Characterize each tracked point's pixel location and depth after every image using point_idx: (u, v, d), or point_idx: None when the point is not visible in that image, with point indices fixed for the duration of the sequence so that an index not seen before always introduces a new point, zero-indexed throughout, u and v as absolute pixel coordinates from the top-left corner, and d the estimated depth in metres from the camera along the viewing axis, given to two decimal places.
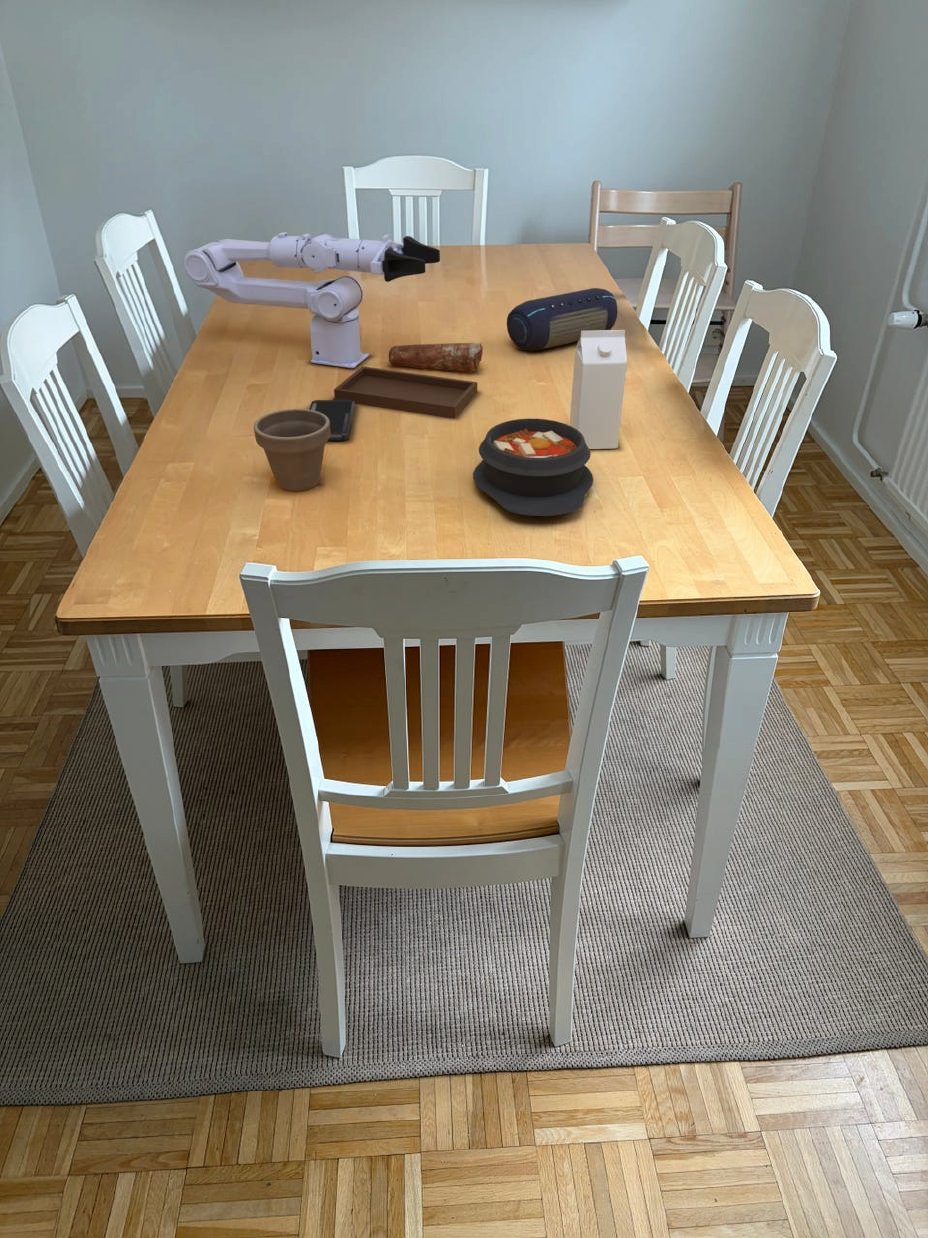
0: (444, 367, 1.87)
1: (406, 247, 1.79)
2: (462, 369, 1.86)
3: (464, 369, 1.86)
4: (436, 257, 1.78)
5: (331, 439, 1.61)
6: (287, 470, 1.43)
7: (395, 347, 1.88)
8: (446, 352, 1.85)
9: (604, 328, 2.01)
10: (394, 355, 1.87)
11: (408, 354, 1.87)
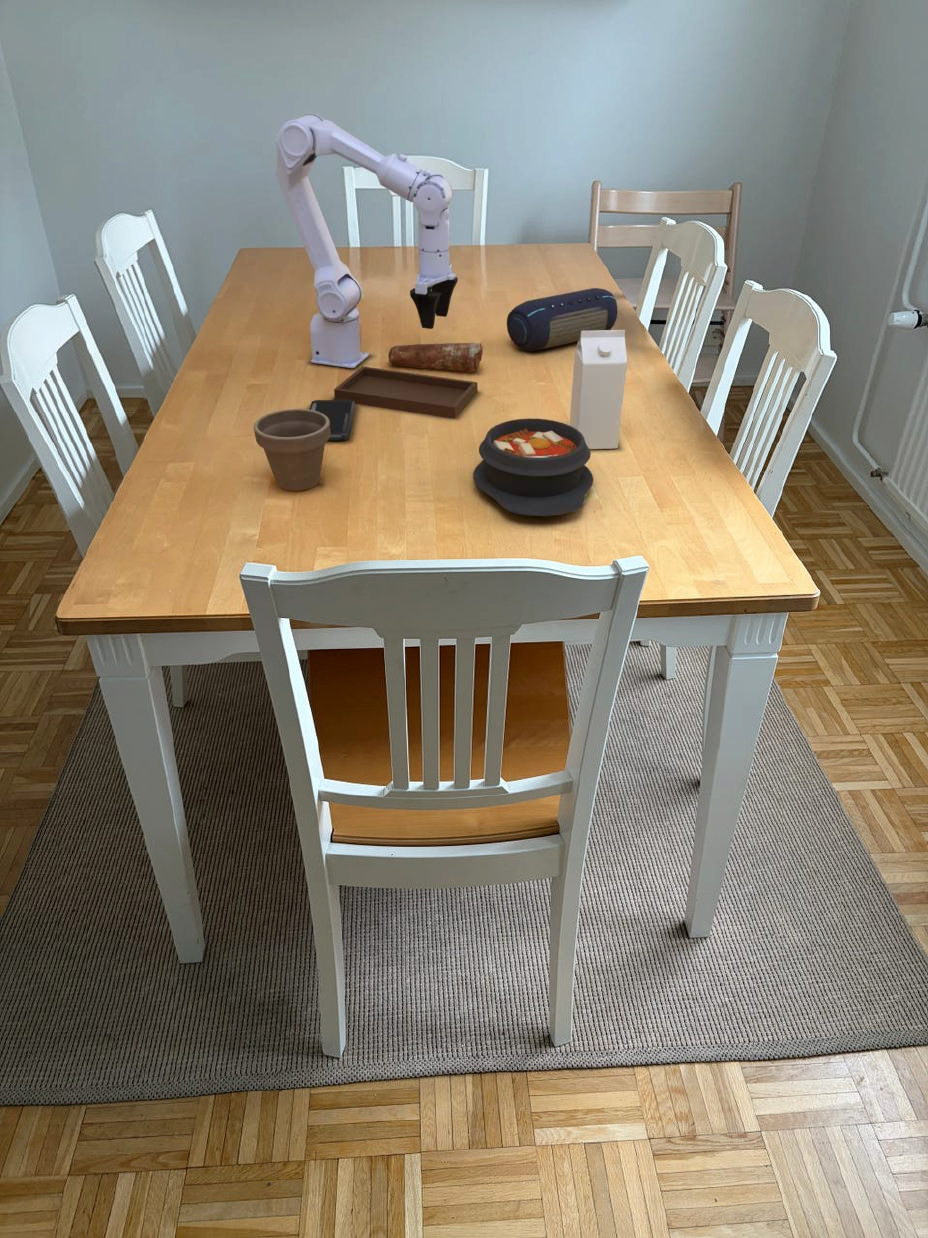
0: (444, 367, 1.87)
1: (446, 282, 1.82)
2: (462, 369, 1.86)
3: (464, 369, 1.86)
4: (439, 313, 1.86)
5: (331, 439, 1.61)
6: (287, 470, 1.43)
7: (395, 347, 1.88)
8: (446, 352, 1.85)
9: (604, 328, 2.01)
10: (394, 355, 1.87)
11: (408, 354, 1.87)
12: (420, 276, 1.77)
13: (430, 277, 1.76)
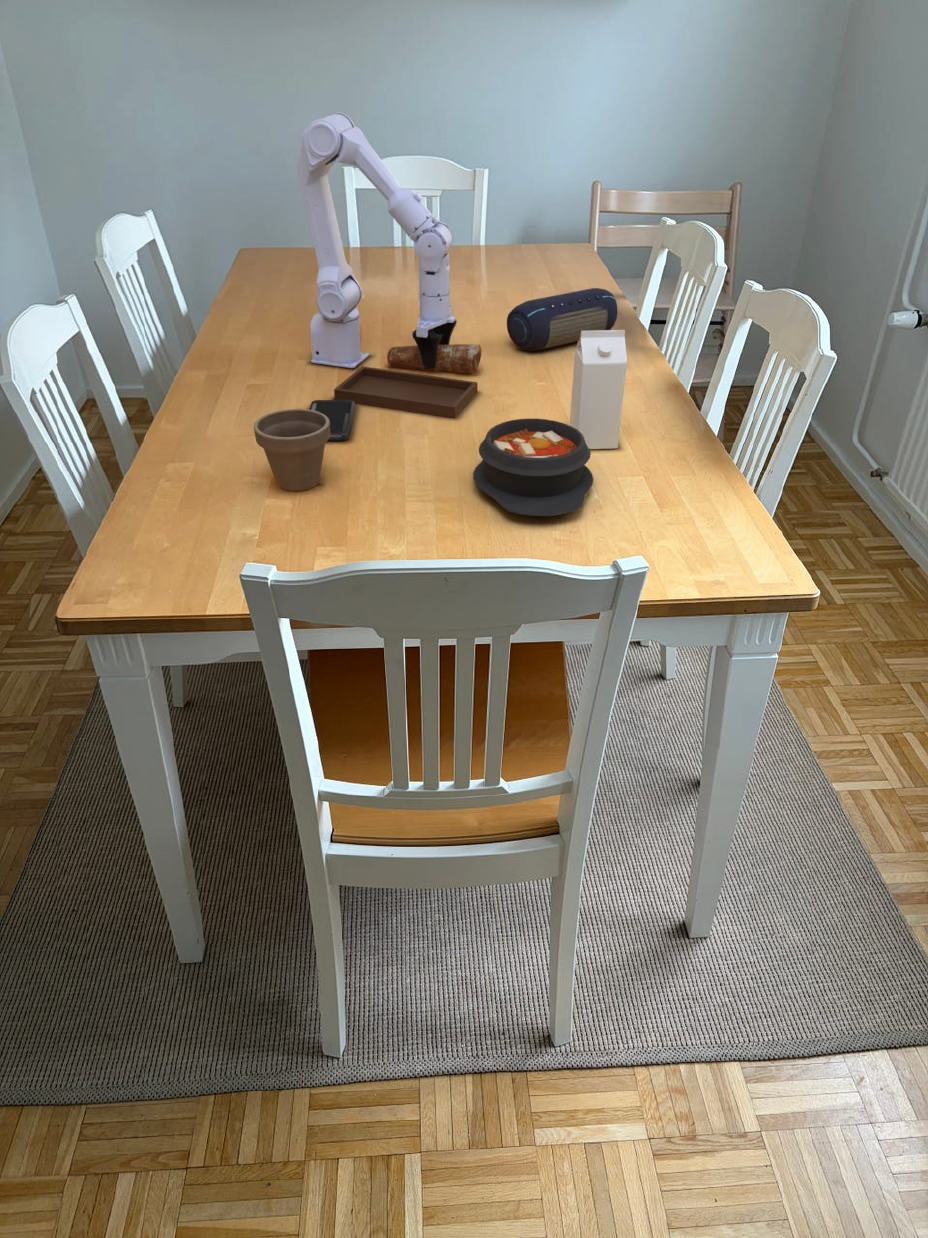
0: (443, 368, 1.86)
1: (445, 325, 1.86)
2: (461, 370, 1.86)
3: (463, 370, 1.85)
4: None
5: (331, 439, 1.61)
6: (287, 470, 1.43)
7: (394, 348, 1.88)
8: (445, 353, 1.84)
9: (604, 328, 2.01)
10: (392, 357, 1.87)
11: (406, 355, 1.86)
12: (421, 319, 1.81)
13: (431, 320, 1.80)
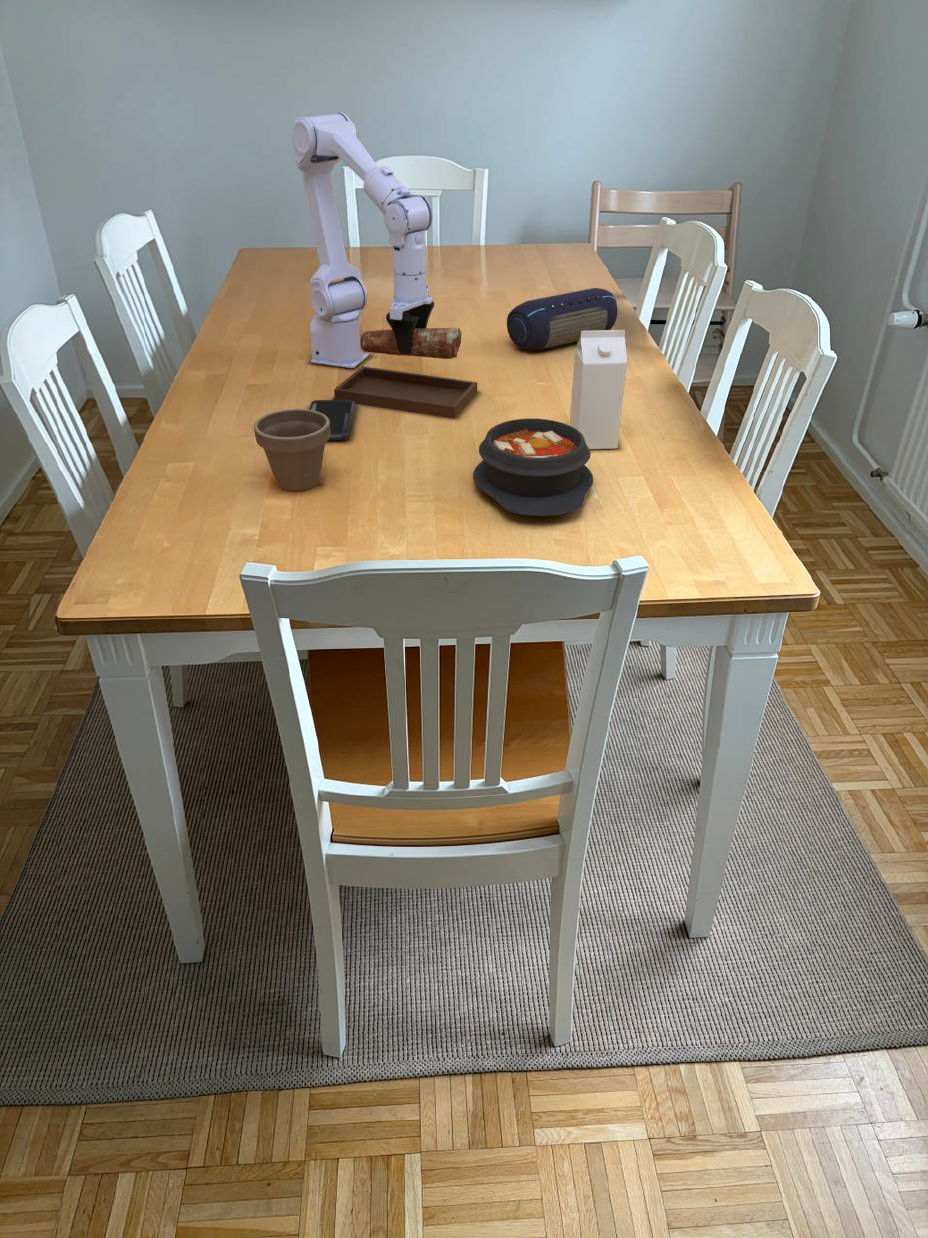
0: (420, 354, 1.73)
1: (422, 307, 1.73)
2: (439, 356, 1.72)
3: (441, 356, 1.72)
4: None
5: (331, 439, 1.61)
6: (287, 470, 1.43)
7: (367, 332, 1.74)
8: (422, 337, 1.71)
9: (604, 328, 2.01)
10: (366, 341, 1.73)
11: (381, 339, 1.73)
12: (395, 300, 1.68)
13: (406, 301, 1.67)
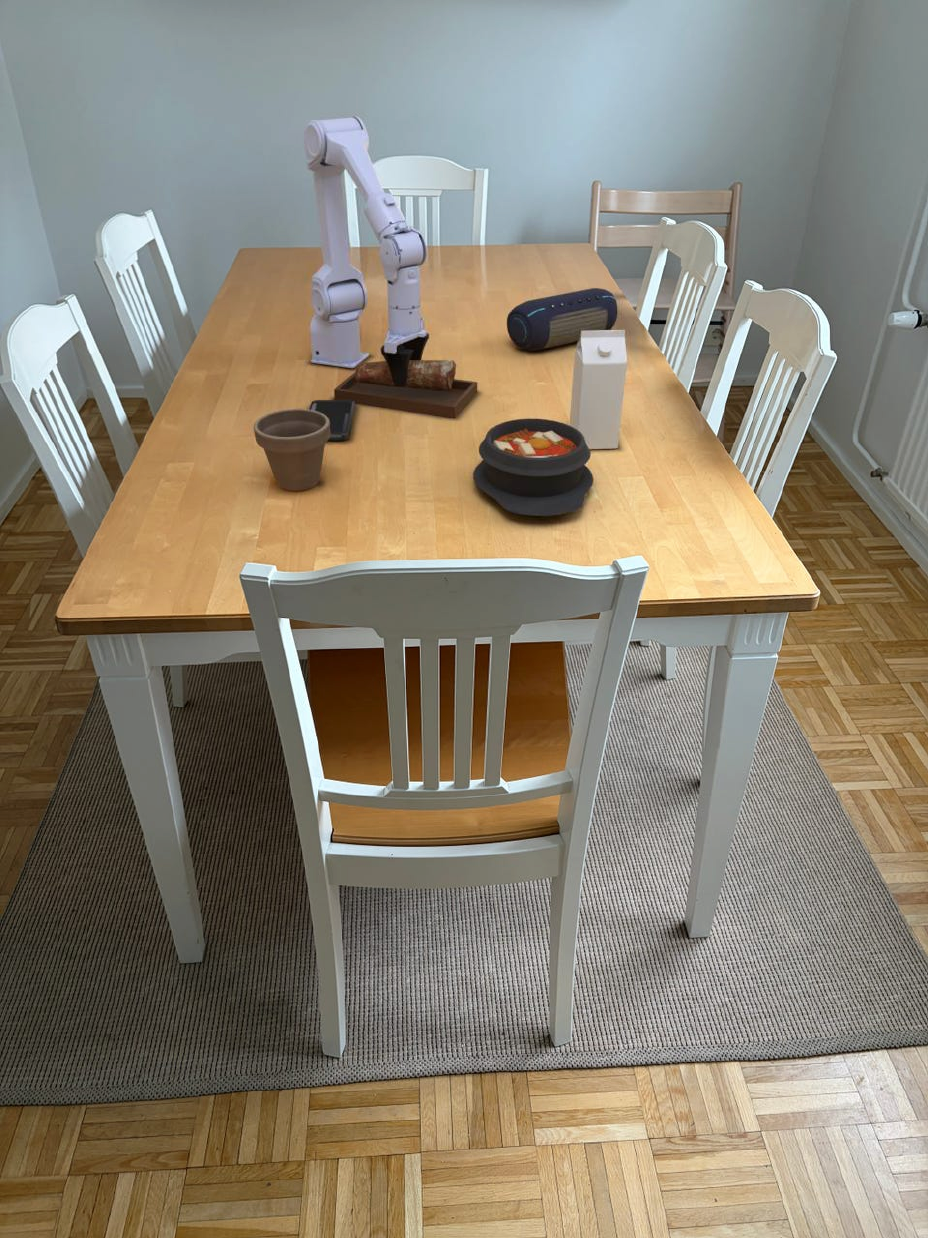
0: (414, 386, 1.73)
1: (417, 339, 1.74)
2: (434, 388, 1.73)
3: (436, 388, 1.73)
4: None
5: (331, 439, 1.61)
6: (287, 470, 1.43)
7: (362, 364, 1.75)
8: (416, 370, 1.71)
9: (604, 328, 2.01)
10: (361, 373, 1.74)
11: (375, 371, 1.73)
12: (390, 333, 1.69)
13: (400, 335, 1.68)
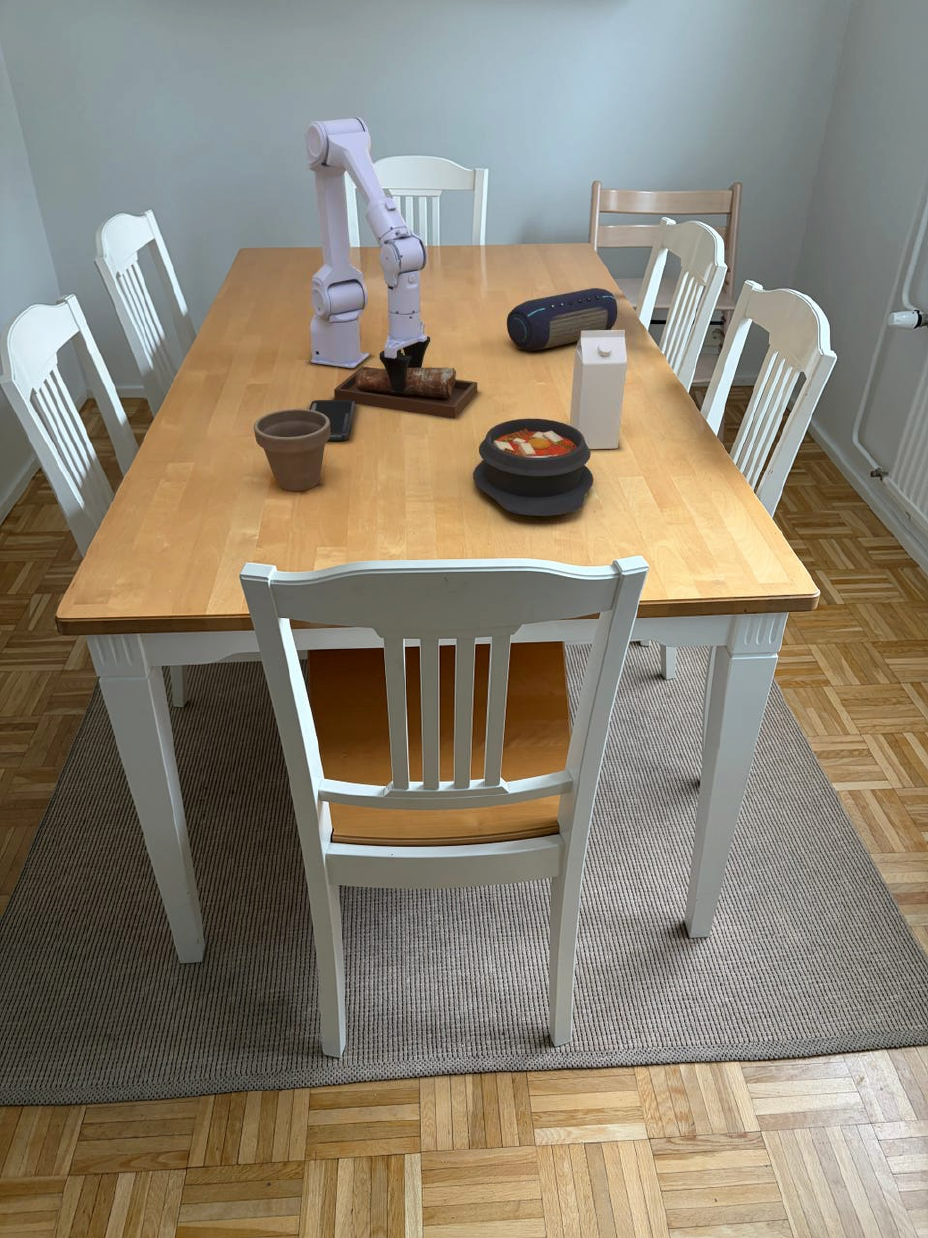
0: (415, 393, 1.74)
1: (418, 342, 1.75)
2: (434, 395, 1.74)
3: (436, 395, 1.74)
4: None
5: (331, 439, 1.61)
6: (287, 470, 1.43)
7: (363, 371, 1.76)
8: (416, 377, 1.72)
9: (604, 328, 2.01)
10: (361, 380, 1.75)
11: (376, 378, 1.74)
12: (390, 338, 1.69)
13: (400, 339, 1.68)
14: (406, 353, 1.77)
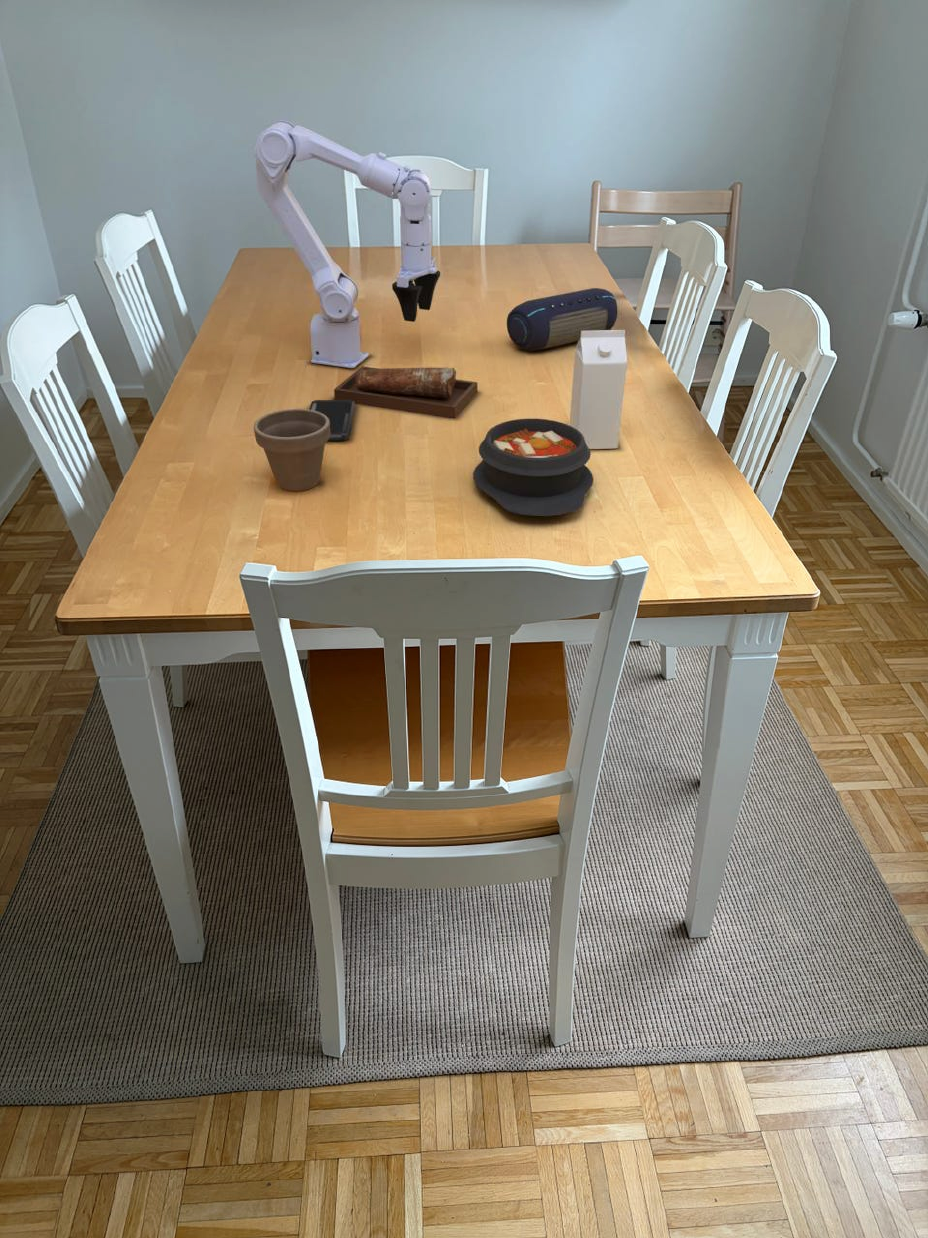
0: (415, 393, 1.74)
1: (429, 276, 1.85)
2: (434, 395, 1.74)
3: (436, 395, 1.74)
4: (422, 307, 1.89)
5: (331, 439, 1.61)
6: (287, 470, 1.43)
7: (363, 371, 1.76)
8: (416, 377, 1.72)
9: (604, 328, 2.01)
10: (361, 380, 1.75)
11: (376, 378, 1.74)
12: (402, 270, 1.80)
13: (412, 271, 1.79)
14: None
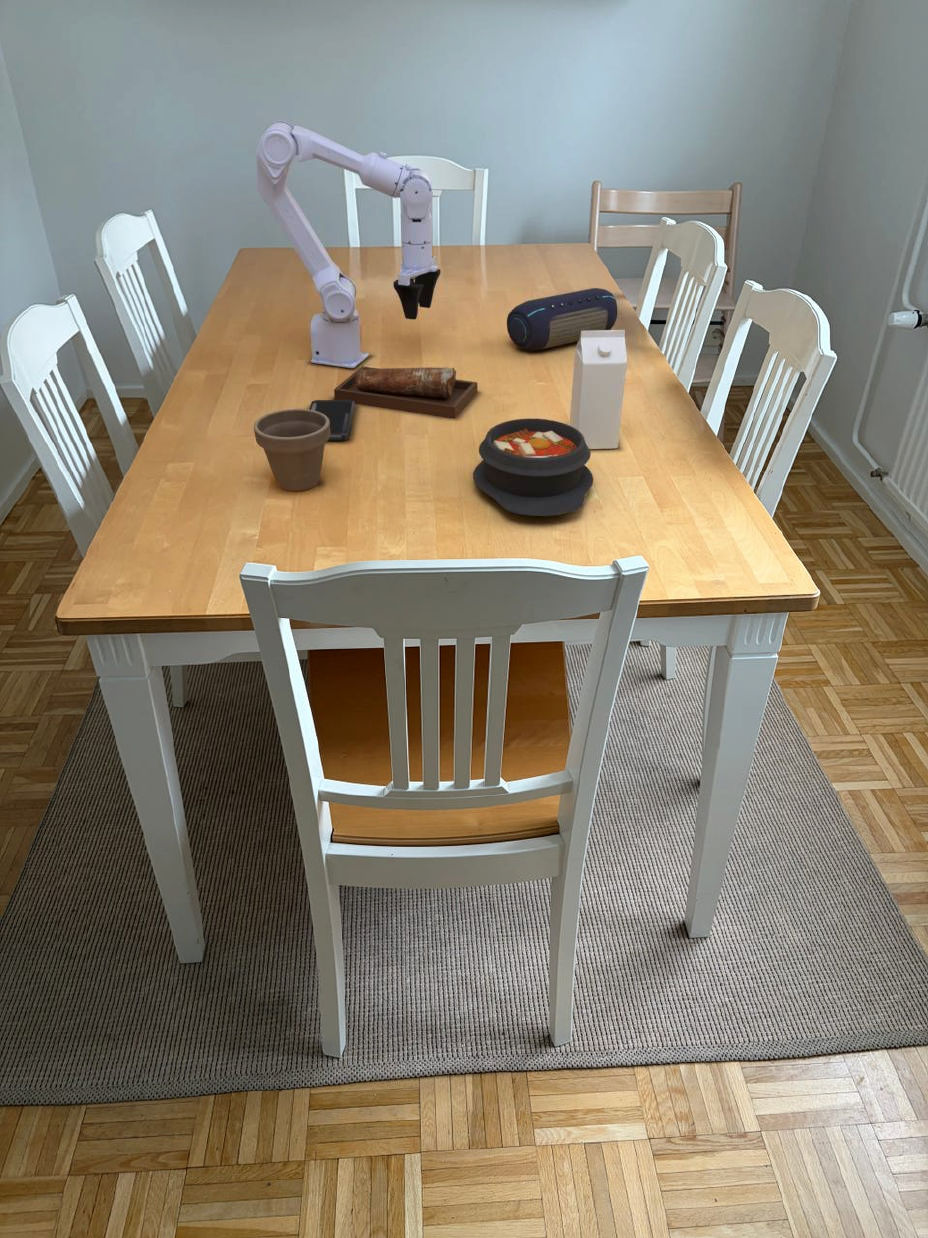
0: (415, 393, 1.74)
1: (429, 274, 1.87)
2: (434, 395, 1.74)
3: (436, 395, 1.74)
4: (423, 305, 1.90)
5: (331, 439, 1.61)
6: (287, 470, 1.43)
7: (363, 371, 1.76)
8: (416, 377, 1.72)
9: (604, 328, 2.01)
10: (361, 380, 1.75)
11: (376, 378, 1.74)
12: (403, 268, 1.81)
13: (413, 269, 1.80)
14: None
